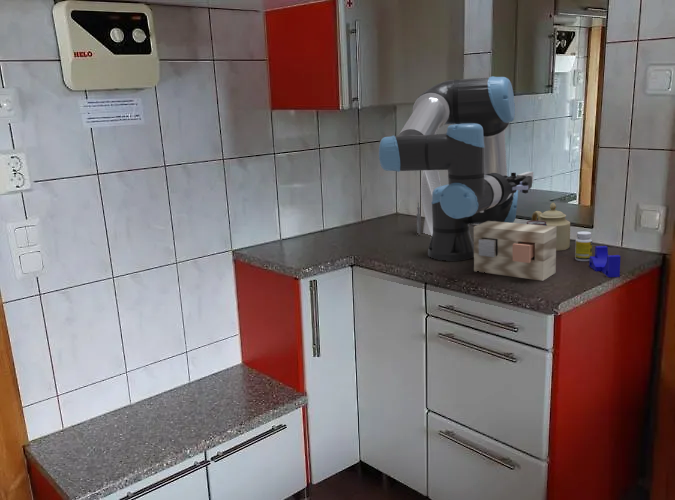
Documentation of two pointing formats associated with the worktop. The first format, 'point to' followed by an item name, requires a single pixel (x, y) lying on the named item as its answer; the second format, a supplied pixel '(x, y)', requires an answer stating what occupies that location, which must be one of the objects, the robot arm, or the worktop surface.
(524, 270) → the housing
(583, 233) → the supplement bottle
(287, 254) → the worktop surface
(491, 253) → the grey plug
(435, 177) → the skyscraper
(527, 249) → the terracotta plug
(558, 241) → the sugar bowl
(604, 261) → the blue curved cradle
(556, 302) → the worktop surface
